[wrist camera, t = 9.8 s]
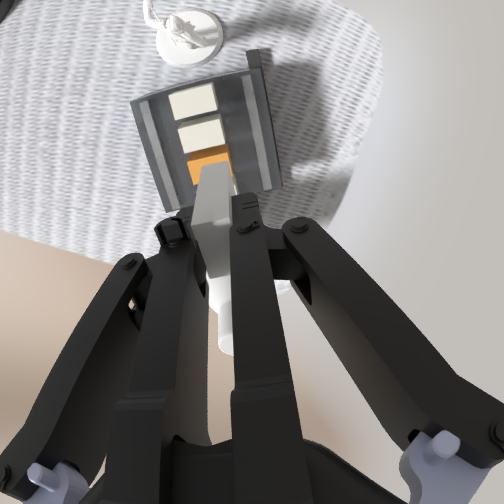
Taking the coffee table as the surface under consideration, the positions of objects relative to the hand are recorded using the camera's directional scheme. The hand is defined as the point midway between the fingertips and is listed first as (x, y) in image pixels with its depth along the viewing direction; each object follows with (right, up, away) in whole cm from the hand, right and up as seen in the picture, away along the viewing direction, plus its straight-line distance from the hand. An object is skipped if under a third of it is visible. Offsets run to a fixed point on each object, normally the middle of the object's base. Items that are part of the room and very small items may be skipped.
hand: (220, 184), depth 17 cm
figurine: (-5, +18, +8) cm, 21 cm away
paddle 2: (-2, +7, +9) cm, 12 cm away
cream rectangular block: (-3, +10, +7) cm, 12 cm away
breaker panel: (-3, +10, +14) cm, 18 cm away
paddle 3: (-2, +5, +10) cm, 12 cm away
